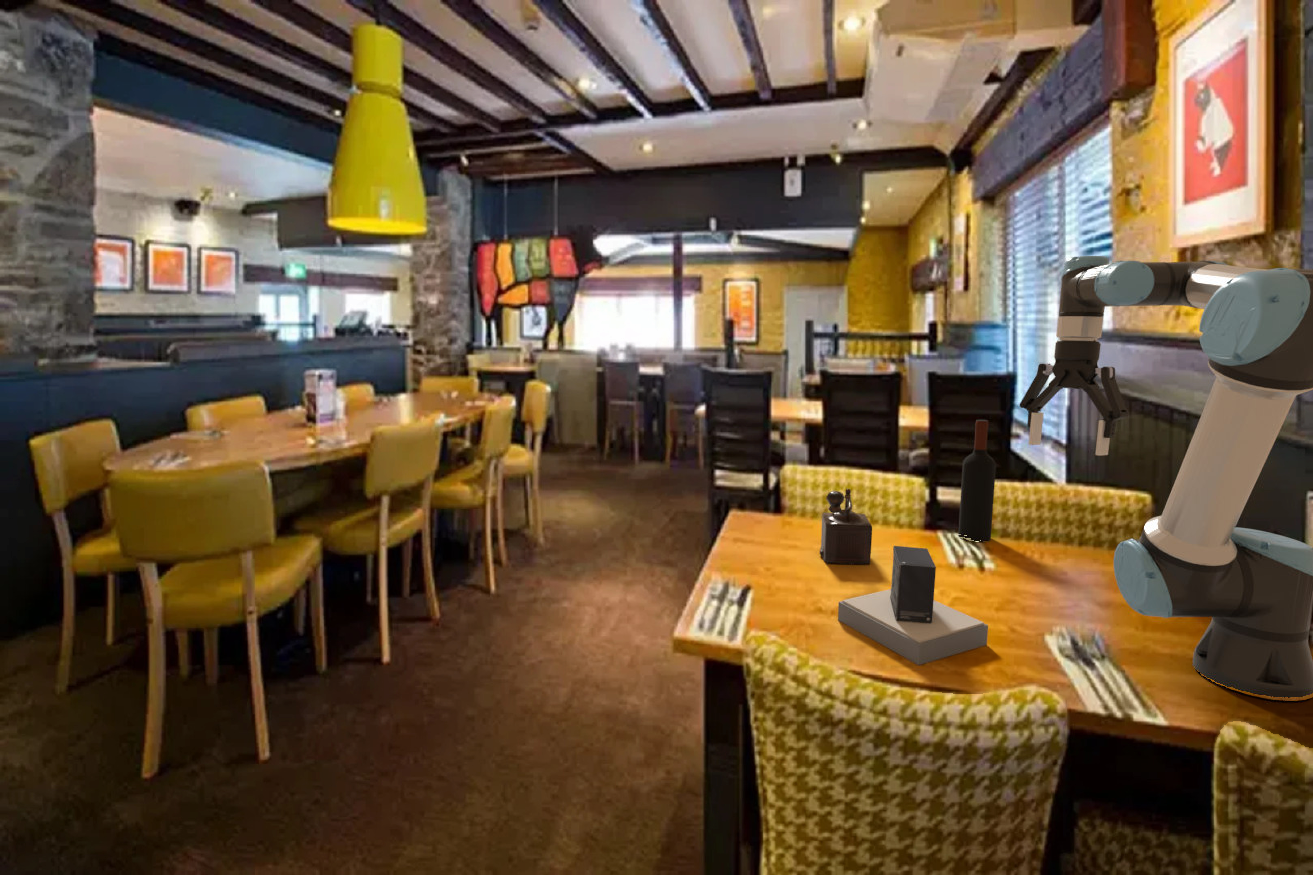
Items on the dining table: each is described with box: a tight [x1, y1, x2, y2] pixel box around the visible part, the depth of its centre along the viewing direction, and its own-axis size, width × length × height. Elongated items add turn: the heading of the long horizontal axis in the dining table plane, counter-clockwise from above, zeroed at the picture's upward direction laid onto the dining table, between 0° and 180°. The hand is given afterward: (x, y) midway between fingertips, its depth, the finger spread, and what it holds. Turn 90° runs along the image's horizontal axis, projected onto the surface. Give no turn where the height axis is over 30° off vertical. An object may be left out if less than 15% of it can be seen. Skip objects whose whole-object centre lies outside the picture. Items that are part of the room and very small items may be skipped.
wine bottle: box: [957, 419, 997, 543], centre depth 183 cm, size 8×8×30 cm
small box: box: [890, 545, 937, 623], centre depth 131 cm, size 11×6×10 cm, turn 168°
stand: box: [837, 588, 989, 666], centre depth 132 cm, size 20×16×4 cm
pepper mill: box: [819, 488, 873, 566], centre depth 169 cm, size 16×11×18 cm
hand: (1066, 449), depth 143 cm, fingers open, 13 cm apart
